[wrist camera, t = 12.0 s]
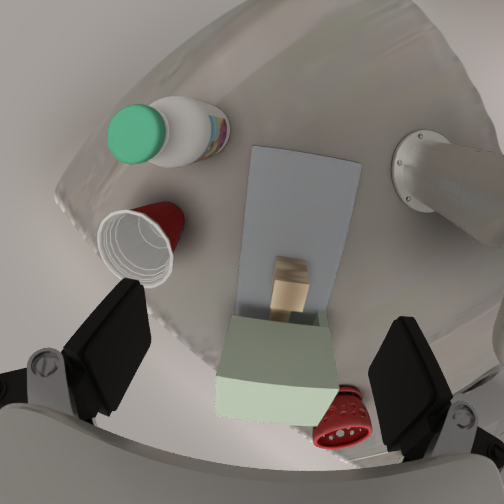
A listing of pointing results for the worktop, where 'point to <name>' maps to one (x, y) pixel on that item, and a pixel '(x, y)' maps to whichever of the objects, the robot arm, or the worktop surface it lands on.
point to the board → (294, 225)
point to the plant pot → (343, 421)
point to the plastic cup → (141, 242)
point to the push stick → (288, 288)
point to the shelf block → (276, 371)
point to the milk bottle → (168, 132)
